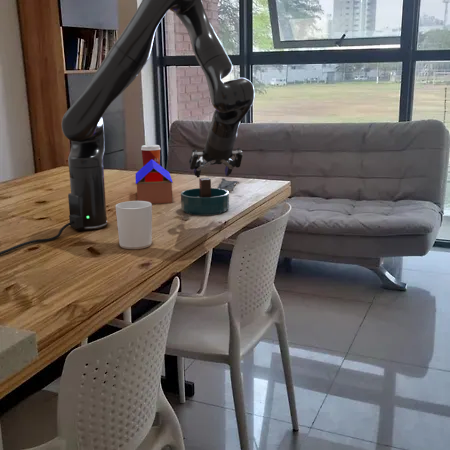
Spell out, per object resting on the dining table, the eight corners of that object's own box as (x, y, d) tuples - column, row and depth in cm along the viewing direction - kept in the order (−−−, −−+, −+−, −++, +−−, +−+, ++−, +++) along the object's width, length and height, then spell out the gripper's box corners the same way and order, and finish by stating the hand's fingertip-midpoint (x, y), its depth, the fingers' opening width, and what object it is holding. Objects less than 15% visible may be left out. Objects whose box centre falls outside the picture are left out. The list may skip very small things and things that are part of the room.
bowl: (201, 218, 174) (201, 200, 173) (171, 209, 185) (171, 192, 184) (238, 210, 184) (238, 192, 182) (208, 202, 194) (208, 186, 193)
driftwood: (233, 193, 208) (233, 187, 208) (214, 192, 209) (214, 186, 209) (239, 182, 228) (239, 177, 228) (221, 182, 229) (221, 177, 228)
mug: (156, 248, 146) (154, 207, 143) (120, 251, 144) (117, 210, 141) (149, 236, 156) (147, 198, 154) (114, 239, 154) (112, 200, 151)
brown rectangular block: (211, 208, 183) (210, 179, 181) (201, 208, 182) (201, 180, 180) (209, 206, 186) (208, 177, 184) (199, 206, 185) (199, 178, 183)
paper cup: (160, 183, 227) (159, 146, 224) (140, 183, 227) (139, 147, 224) (163, 179, 235) (161, 144, 231) (143, 179, 235) (142, 144, 231)
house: (136, 204, 193) (134, 168, 190) (136, 191, 212) (134, 159, 209) (173, 202, 195) (172, 167, 192) (169, 190, 214) (168, 158, 211)
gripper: (244, 126, 159) (233, 162, 173) (192, 128, 156) (185, 164, 169) (250, 149, 156) (238, 183, 169) (196, 151, 152) (189, 186, 166)
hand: (211, 174), depth 169 cm, fingers open, 8 cm apart
